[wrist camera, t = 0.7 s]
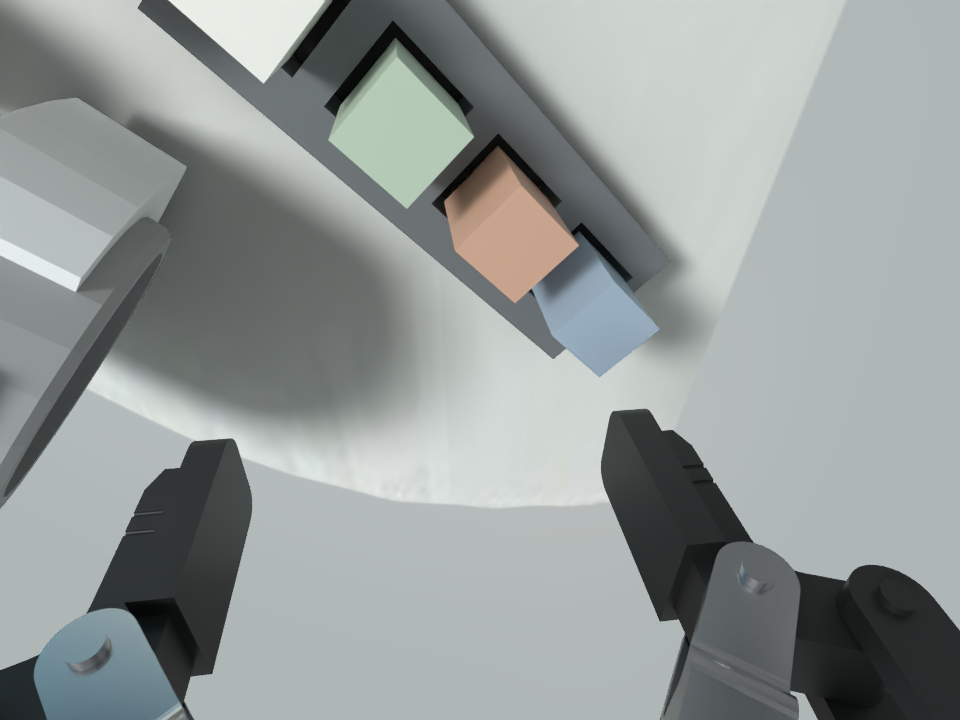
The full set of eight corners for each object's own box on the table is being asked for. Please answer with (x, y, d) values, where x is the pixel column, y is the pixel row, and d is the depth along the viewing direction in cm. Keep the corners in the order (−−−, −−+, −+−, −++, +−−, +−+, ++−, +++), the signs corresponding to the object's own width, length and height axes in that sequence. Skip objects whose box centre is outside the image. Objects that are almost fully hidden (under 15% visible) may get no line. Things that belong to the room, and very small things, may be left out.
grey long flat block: (284, -185, 26) (268, -206, 22) (647, 237, 40) (670, 261, 37) (165, 2, 29) (137, 8, 26) (541, 329, 44) (553, 359, 40)
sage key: (395, 37, 28) (396, 56, 22) (458, 104, 30) (474, 136, 25) (340, 105, 30) (328, 140, 24) (403, 164, 32) (407, 208, 26)
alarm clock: (109, 359, 40) (-83, 633, 24) (-29, 298, 36) (-372, 573, 20) (229, 156, 34) (75, 342, 17) (74, 54, 30) (-315, 168, 13)
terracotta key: (497, 145, 32) (521, 185, 26) (547, 198, 34) (579, 245, 28) (444, 201, 33) (454, 251, 28) (495, 248, 35) (514, 303, 30)
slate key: (579, 231, 35) (614, 282, 30) (619, 273, 38) (660, 329, 32) (527, 278, 37) (552, 336, 31) (568, 316, 39) (599, 377, 33)
